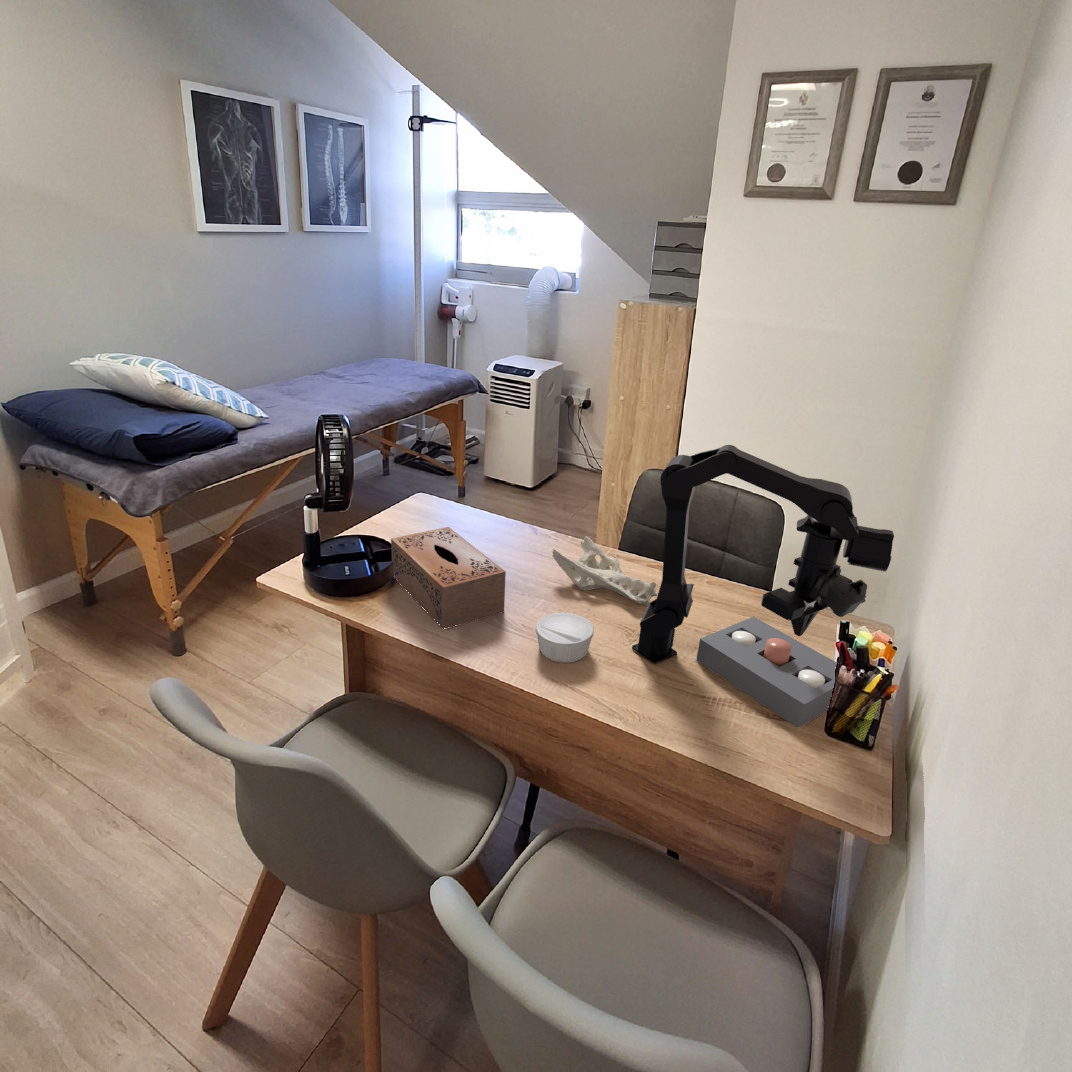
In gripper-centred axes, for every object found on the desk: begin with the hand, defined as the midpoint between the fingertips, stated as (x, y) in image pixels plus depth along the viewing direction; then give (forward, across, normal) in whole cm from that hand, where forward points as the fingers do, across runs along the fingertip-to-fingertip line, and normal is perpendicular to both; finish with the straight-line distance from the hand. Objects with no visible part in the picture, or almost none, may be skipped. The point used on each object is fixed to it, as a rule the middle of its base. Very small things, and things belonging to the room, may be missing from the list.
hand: (798, 634), depth 122 cm
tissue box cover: (+12, -39, +61) cm, 73 cm away
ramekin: (+12, -29, +30) cm, 44 cm away
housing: (+11, -1, +2) cm, 11 cm away
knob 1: (+11, -1, +10) cm, 15 cm away
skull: (+12, -5, +45) cm, 47 cm away
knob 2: (+10, -1, -5) cm, 11 cm away
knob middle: (+8, -1, +3) cm, 8 cm away
